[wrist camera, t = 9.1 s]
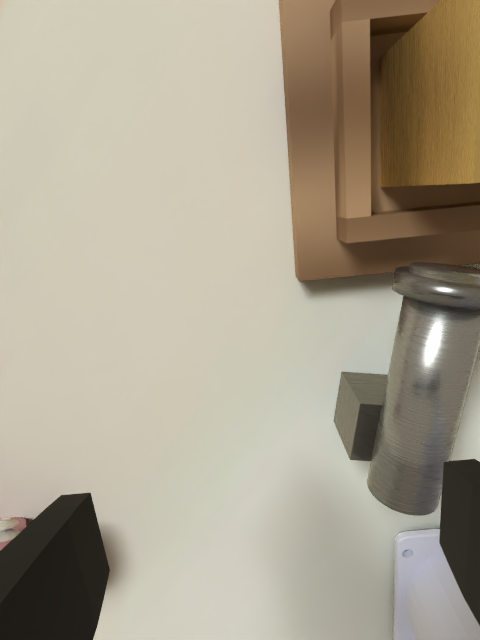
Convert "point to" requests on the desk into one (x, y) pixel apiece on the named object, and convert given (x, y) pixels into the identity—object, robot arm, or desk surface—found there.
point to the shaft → (415, 388)
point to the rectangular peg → (432, 100)
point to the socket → (358, 149)
